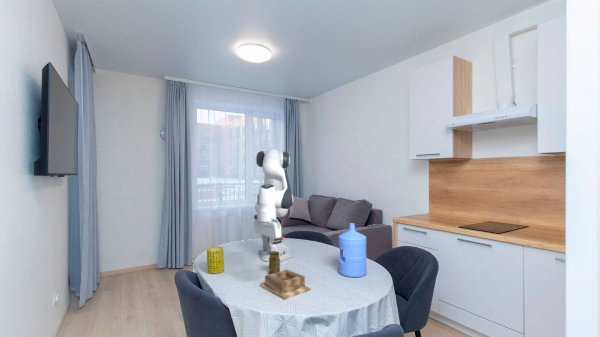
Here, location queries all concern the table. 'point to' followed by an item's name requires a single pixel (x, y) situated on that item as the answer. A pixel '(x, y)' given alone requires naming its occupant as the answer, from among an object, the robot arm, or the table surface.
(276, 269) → the condiment
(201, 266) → the table surface
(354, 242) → the water jug
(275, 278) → the box
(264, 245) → the bracket
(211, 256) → the food
